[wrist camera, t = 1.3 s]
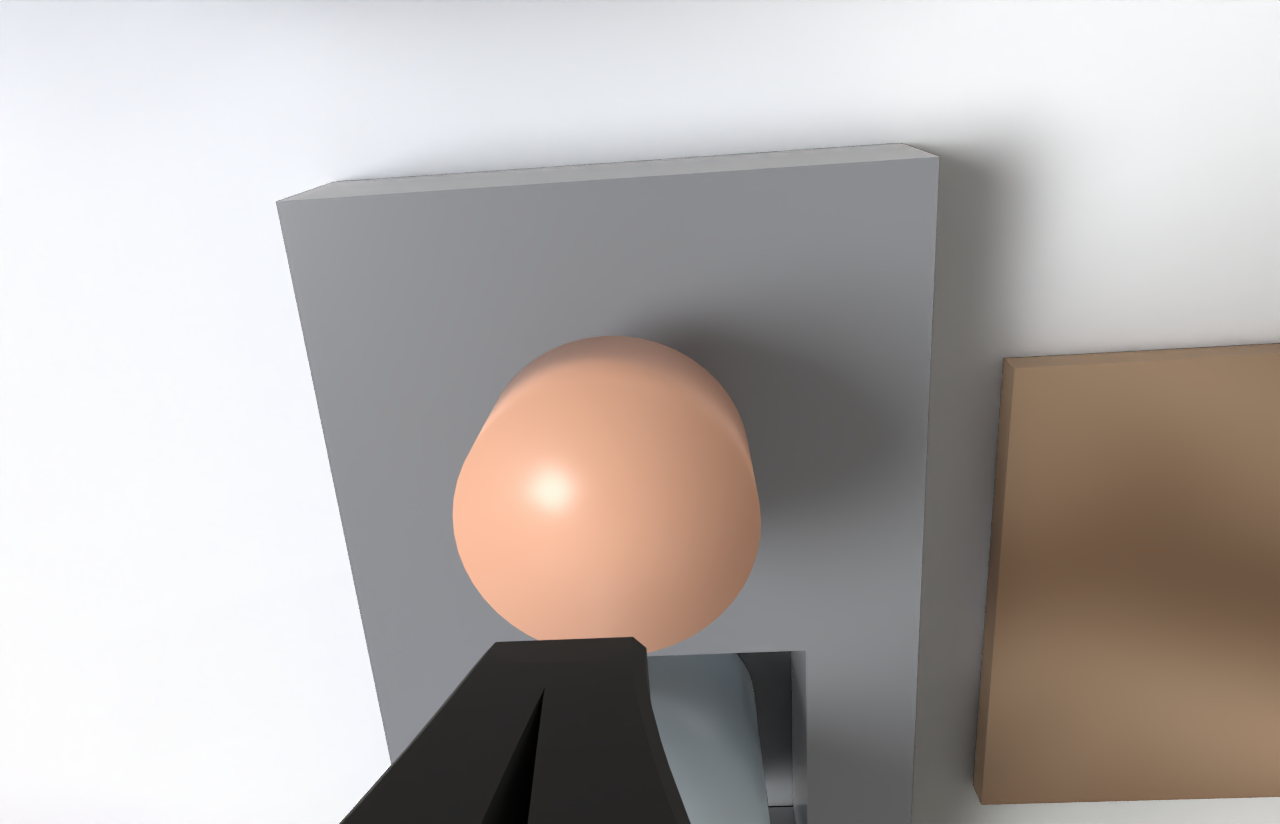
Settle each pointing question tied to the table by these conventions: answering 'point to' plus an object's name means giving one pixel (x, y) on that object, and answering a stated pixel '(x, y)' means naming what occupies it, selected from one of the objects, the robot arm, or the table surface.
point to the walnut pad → (1134, 579)
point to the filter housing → (685, 321)
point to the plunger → (609, 496)
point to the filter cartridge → (710, 736)
